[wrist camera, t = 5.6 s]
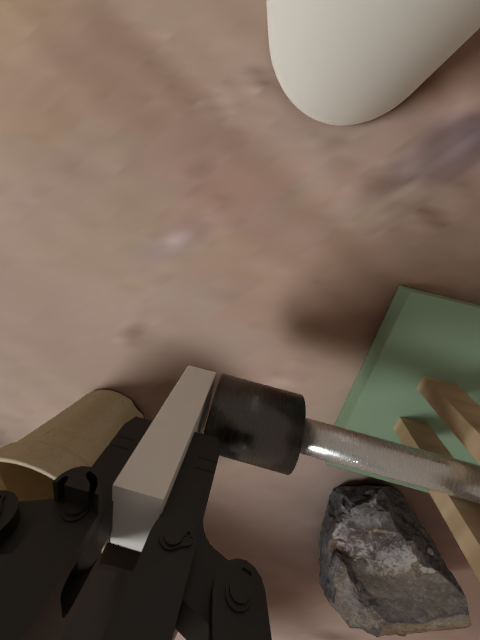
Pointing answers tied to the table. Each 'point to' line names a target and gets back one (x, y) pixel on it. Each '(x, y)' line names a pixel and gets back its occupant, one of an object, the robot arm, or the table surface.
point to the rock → (385, 566)
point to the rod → (321, 441)
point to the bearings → (473, 432)
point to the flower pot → (63, 444)
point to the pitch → (415, 369)
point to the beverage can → (362, 51)
